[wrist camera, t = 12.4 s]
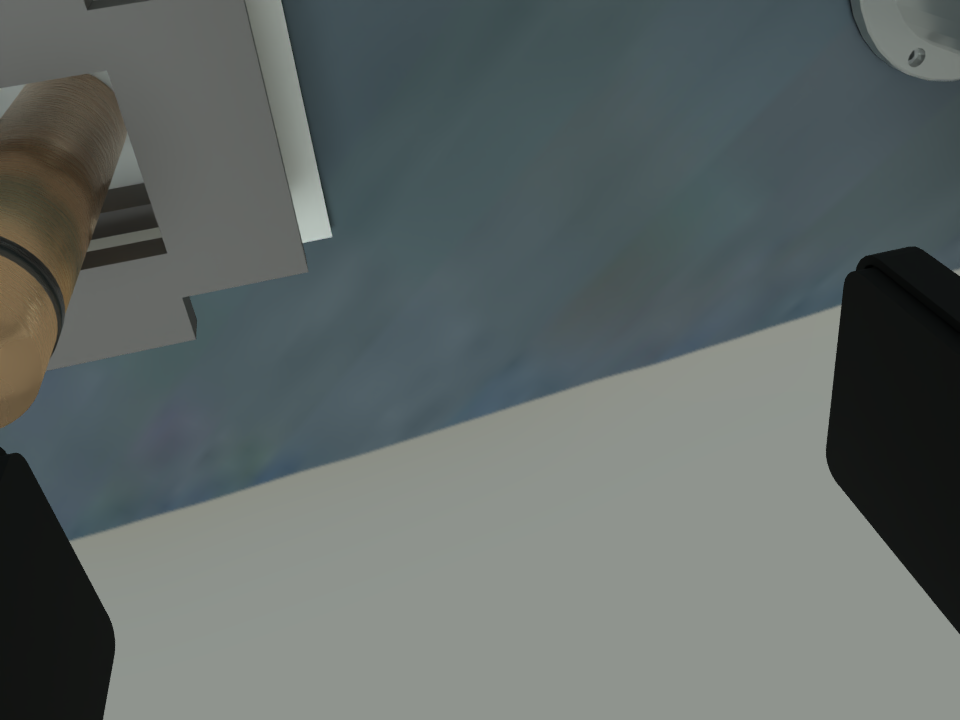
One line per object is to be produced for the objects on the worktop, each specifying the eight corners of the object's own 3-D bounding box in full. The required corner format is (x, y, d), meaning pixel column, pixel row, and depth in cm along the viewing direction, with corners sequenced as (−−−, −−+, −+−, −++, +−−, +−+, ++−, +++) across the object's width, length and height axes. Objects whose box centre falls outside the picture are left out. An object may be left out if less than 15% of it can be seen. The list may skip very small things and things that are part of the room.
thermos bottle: (108, 58, 35) (2, 267, 20) (142, 160, 37) (70, 417, 22) (-3, 77, 34) (-199, 305, 19) (38, 179, 36) (-108, 454, 21)
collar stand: (255, -116, 34) (263, -91, 27) (329, 227, 41) (350, 311, 35) (-270, -41, 31) (-402, 6, 25) (-87, 310, 39) (-150, 417, 32)
